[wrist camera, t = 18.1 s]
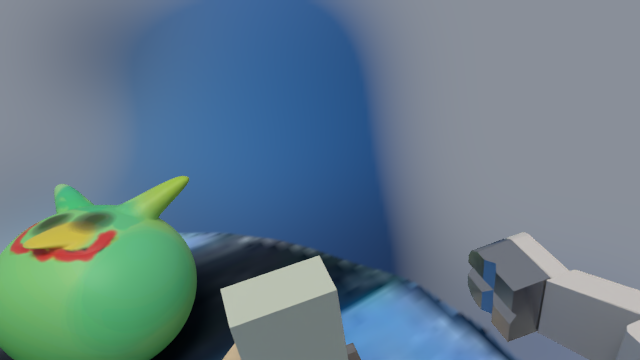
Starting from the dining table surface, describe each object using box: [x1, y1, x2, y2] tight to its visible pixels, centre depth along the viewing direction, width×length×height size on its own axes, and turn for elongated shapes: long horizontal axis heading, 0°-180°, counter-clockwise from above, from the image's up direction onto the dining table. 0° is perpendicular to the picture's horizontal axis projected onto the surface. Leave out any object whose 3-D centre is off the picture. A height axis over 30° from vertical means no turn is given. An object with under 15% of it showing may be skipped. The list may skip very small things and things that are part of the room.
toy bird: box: [0, 176, 197, 360], centre depth 45 cm, size 18×17×15 cm
